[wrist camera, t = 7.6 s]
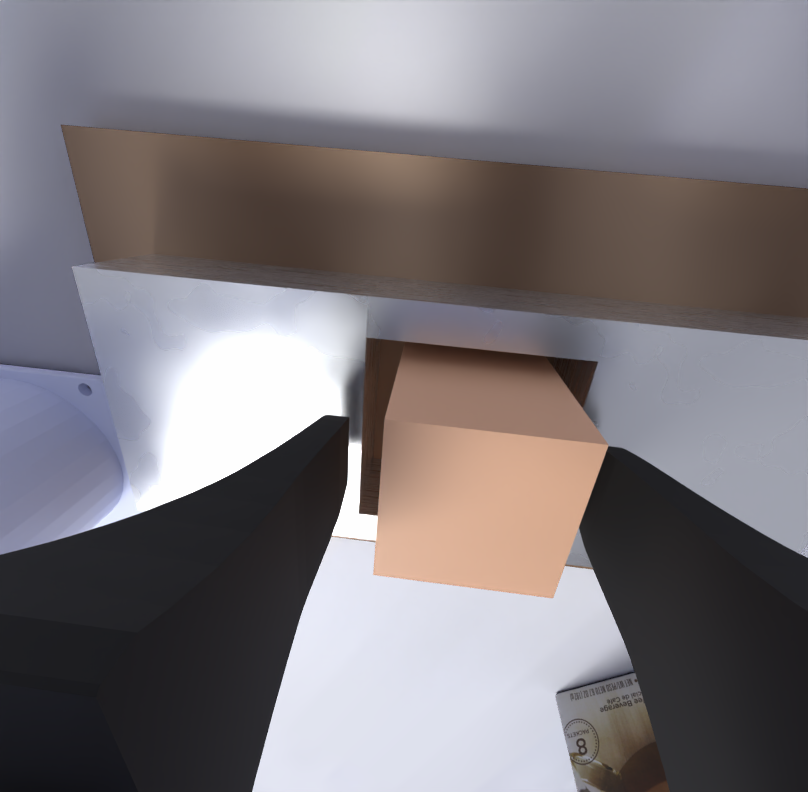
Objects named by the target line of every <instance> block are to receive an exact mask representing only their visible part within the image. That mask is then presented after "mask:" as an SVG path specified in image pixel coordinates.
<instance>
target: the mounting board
mask: <svg viewBox="0 0 808 792" xmlns="http://www.w3.org/2000/svg"><path fill="white" fill-rule="evenodd" d="M61 128H62V132H63V136H64V140H65V144H66V148H67V152H68V156H69V160H70V164H71V168H72V173H73V177H74V181H75V185H76V189H77V193H78V197H79V201H80V205H81V209H82V213H83V217H84V221H85V225H86V230H87V234H88V238H89V242H90V246H91V250H92V254H93V258H94V262H95V263H97V262H103V261H110V260H116V259H123V258H129V257H136V256H142V255H149V254H160V255H170V256H180V257H191V258H201V259H211V260H221V261H231V262H242V263H252V264H262V265H272V266H282V267H292V268H303V269H313V270H323V271H333V272H343V273H354V274H364V275H374V276H384V277H394V278H405V279H415V280H425V281H435V282H445V283H455V284H466V285H476V286H486V287H496V288H506V289H517V290H527V291H537V292H547V293H557V294H568V295H578V296H588V297H598V298H608V299H619V300H629V301H639V302H649V303H659V304H669V305H680V306H690V307H700V308H710V309H720V310H731V311H741V312H751V313H761V314H771V315H782V316H792V317H802V318H808V189H806V188H794V187H782V186H771V185H759V184H747V183H736V182H724V181H712V180H701V179H689V178H677V177H666V176H654V175H642V174H631V173H619V172H607V171H595V170H584V169H572V168H560V167H549V166H537V165H525V164H514V163H502V162H490V161H479V160H467V159H455V158H443V157H432V156H420V155H408V154H397V153H385V152H373V151H362V150H350V149H338V148H327V147H315V146H303V145H291V144H280V143H268V142H256V141H245V140H233V139H221V138H210V137H198V136H186V135H175V134H163V133H151V132H139V131H128V130H116V129H104V128H93V127H81V126H69V125H61ZM404 344H405V341H396V340H386V339H381V341H380V358H379V375H378V392H377V409H376V426H375V443H374V458H376V459H382V447H383V433H384V419H385V415H386V412H387V408H388V404H389V400H390V397H391V393H392V389H393V385H394V382H395V378H396V374H397V370H398V367H399V363H400V359H401V355H402V352H403V348H404ZM545 357H546V358H547V359H548V361H549V362H550V364H551V365H552V366H553V364H554V361H555V357H549V356H545ZM331 537H339V538H346V539H354V540H362V541H370V542H376V540H368V539H360V538H352V537H344V536H336V535H332V536H331ZM565 566H570V567H578V568H586V569H593V568H592V567H584V566H576V565H568V564H565Z"/></svg>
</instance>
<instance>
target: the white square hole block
mask: <svg viewBox="0 0 808 792" xmlns="http://www.w3.org/2000/svg"><path fill="white" fill-rule="evenodd" d="M72 270H73V274H74V278H75V281H76V285H77V289H78V292H79V296H80V300H81V303H82V307H83V311H84V314H85V318H86V322H87V326H88V329H89V333H90V337H91V340H92V344H93V348H94V351H95V355H96V359H97V362H98V366H99V370H100V374H101V377H102V381H103V385H104V388H105V392H106V396H107V399H108V403H109V407H110V410H111V414H112V418H113V422H114V425H115V429H116V433H117V436H118V440H119V444H120V447H121V451H122V455H123V458H124V462H125V466H126V470H127V473H128V477H129V481H130V484H131V488H132V492H133V495H134V499H135V503H136V506H137V510H138V511H147V510H149V509H152V508H154V507H157V506H159V505H162V504H164V503H167V502H169V501H172V500H174V499H177V498H179V497H182V496H185V495H187V494H189V493H192V492H194V491H196V490H198V489H201V488H203V487H205V486H207V485H209V484H211V483H213V482H215V481H217V480H220V479H222V478H224V477H226V476H227V475H229V474H231V473H233V472H235V471H237V470H239V469H241V468H242V467H244V466H246V465H248V464H249V463H251V462H253V461H254V460H256V459H258V458H259V457H261V456H263V455H264V454H266V453H268V452H270V451H271V450H273V449H275V448H276V447H278V446H279V445H281V444H282V443H284V442H285V441H287V440H288V439H290V438H291V437H293V436H294V435H296V434H297V433H299V432H300V431H302V430H303V429H305V428H306V427H307V426H309V425H310V424H312V423H313V422H315V421H316V420H318V419H319V418H321V417H322V416H324V415H326V414H328V415H337V416H346V417H350V418H349V458H348V484H347V488H346V492H345V496H344V500H343V504H342V508H341V511H340V515H339V518H338V521H337V523H336V526H335V528H334V531H333V534H332V535H336V536H344V537H352V538H360V539H368V540H376V531H377V517H378V503H379V489H380V475H381V461H382V459H376V458H374V443H375V426H376V409H377V392H378V375H379V358H380V341H381V339H386V340H396V341H405V342H415V343H424V344H434V345H444V346H453V347H463V348H472V349H482V350H491V351H501V352H510V353H520V354H530V355H539V356H549V357H555V361H554V364H553V368H554V369H555V371H556V372H557V373H558V375H559V376H560V378H561V379H562V380H563V382H564V383H565V385H566V386H567V387H568V389H569V390H570V392H571V393H572V394H573V396H574V397H575V399H576V400H577V401H578V403H579V404H580V406H581V407H582V408H583V410H584V411H585V412H586V414H587V415H588V417H589V418H590V419H591V421H592V422H593V424H594V425H595V426H596V428H597V429H598V431H599V432H600V433H601V435H602V436H603V438H604V439H605V440H606V442H607V443H608V445H609V446H611V447H620V448H624V449H626V450H628V451H630V452H632V453H633V454H635V455H637V456H639V457H640V458H642V459H644V460H645V461H647V462H649V463H650V464H652V465H653V466H655V467H656V468H658V469H660V470H661V471H663V472H664V473H666V474H667V475H669V476H670V477H672V478H674V479H675V480H677V481H678V482H680V483H681V484H683V485H684V486H686V487H687V488H689V489H691V490H692V491H694V492H695V493H697V494H698V495H700V496H701V497H703V498H705V499H706V500H708V501H709V502H711V503H713V504H714V505H716V506H717V507H719V508H721V509H722V510H724V511H725V512H727V513H729V514H730V515H732V516H734V517H735V518H737V519H739V520H740V521H742V522H744V523H746V524H747V525H749V526H751V527H752V528H754V529H756V530H757V531H759V532H761V533H762V534H764V535H766V536H768V537H769V538H771V539H773V540H775V541H777V542H778V543H780V544H782V545H784V546H786V547H787V548H789V549H791V550H793V551H795V552H797V553H799V554H801V553H802V551H803V550H804V549H805V547H806V546H807V544H808V318H802V317H792V316H782V315H771V314H761V313H751V312H741V311H731V310H720V309H710V308H700V307H690V306H680V305H669V304H659V303H649V302H639V301H629V300H619V299H608V298H598V297H588V296H578V295H568V294H557V293H547V292H537V291H527V290H517V289H506V288H496V287H486V286H476V285H466V284H455V283H445V282H435V281H425V280H415V279H405V278H394V277H384V276H374V275H364V274H354V273H343V272H333V271H323V270H313V269H303V268H292V267H282V266H272V265H262V264H252V263H242V262H231V261H221V260H211V259H201V258H191V257H180V256H170V255H160V254H149V255H142V256H136V257H129V258H123V259H116V260H110V261H103V262H97V263H90V264H84V265H77V266H72ZM566 564H568V565H576V566H584V567H592V565H591V562H590V560H589V558H588V555H587V553H586V550H585V548H584V544H583V541H582V537H581V534H580V530H579V528H578V531H577V534H576V536H575V539H574V542H573V545H572V547H571V550H570V553H569V556H568V558H567V561H566ZM592 568H593V567H592Z"/></svg>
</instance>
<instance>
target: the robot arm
mask: <svg viewBox="0 0 808 792" xmlns="http://www.w3.org/2000/svg"><path fill="white" fill-rule="evenodd" d="M87 385H88V386H89V387H90V388H91V390H90V389H89V388H88V386H87ZM349 418H350V417H346V416H337V415H328V414H326V415H324V416H322V417H321V418H319V419H318V420H316V421H315V422H313V423H312V424H310V425H309V426H307V427H306V428H305V429H303V430H302V431H300V432H299V433H297V434H296V435H294V436H293V437H291V438H290V439H288V440H287V441H285V442H284V443H282V444H281V445H279V446H278V447H276V448H275V449H273V450H271V451H270V452H268V453H266V454H264V455H263V456H261V457H259V458H258V459H256V460H254V461H253V462H251V463H249V464H248V465H246V466H244V467H242V468H241V469H239V470H237V471H235V472H233V473H231V474H229V475H227V476H226V477H224V478H222V479H220V480H217V481H215V482H213V483H211V484H209V485H207V486H205V487H203V488H201V489H198V490H196V491H194V492H192V493H189V494H187V495H185V496H182V497H179V498H177V499H174V500H172V501H169V502H167V503H164V504H162V505H159V506H157V507H154V508H152V509H149V510H147V511H138V510H137V506H136V503H135V499H134V495H133V492H132V488H131V484H130V481H129V477H128V473H127V470H126V466H125V462H124V458H123V455H122V451H121V447H120V444H119V440H118V436H117V433H116V429H115V425H114V422H113V418H112V414H111V410H110V407H109V403H108V399H107V396H106V392H105V388H104V385H103V381H102V377H101V375H92V374H83V373H74V372H65V371H56V370H47V369H38V368H29V367H20V366H11V365H2V364H0V792H252V789H253V785H254V781H255V778H256V774H257V770H258V766H259V763H260V759H261V755H262V751H263V748H264V744H265V740H266V736H267V733H268V729H269V725H270V721H271V717H272V714H273V710H274V707H275V703H276V699H277V696H278V692H279V689H280V685H281V682H282V678H283V674H284V671H285V667H286V664H287V660H288V657H289V653H290V650H291V647H292V643H293V640H294V636H295V633H296V629H297V626H298V623H299V619H300V616H301V613H302V610H303V607H304V605H305V602H306V599H307V596H308V594H309V591H310V589H311V586H312V584H313V581H314V579H315V576H316V574H317V571H318V569H319V566H320V564H321V561H322V559H323V556H324V554H325V551H326V549H327V546H328V544H329V541H330V539H331V536H332V534H333V531H334V528H335V526H336V523H337V521H338V518H339V515H340V511H341V508H342V504H343V500H344V496H345V492H346V488H347V484H348V458H349ZM579 530H580V534H581V537H582V541H583V544H584V548H585V550H586V553H587V555H588V558H589V560H590V562H591V565H592V567H593V570H594V572H595V574H596V577H597V579H598V582H599V584H600V586H601V589H602V591H603V593H604V596H605V598H606V600H607V603H608V605H609V607H610V610H611V612H612V614H613V617H614V619H615V621H616V624H617V626H618V628H619V631H620V633H621V636H622V638H623V640H624V643H625V646H626V648H627V651H628V654H629V656H630V659H631V662H632V665H633V668H634V671H635V674H636V677H637V681H638V684H639V687H640V690H641V693H642V696H643V700H644V703H645V706H646V709H647V712H648V716H649V719H650V723H651V726H652V730H653V733H654V737H655V740H656V744H657V747H658V750H659V754H660V757H661V761H662V764H663V768H664V771H665V775H666V779H667V783H668V787H669V791H670V792H808V558H807V557H805V556H803V555H801V554H799V553H797V552H795V551H793V550H791V549H789V548H787V547H786V546H784V545H782V544H780V543H778V542H777V541H775V540H773V539H771V538H769V537H768V536H766V535H764V534H762V533H761V532H759V531H757V530H756V529H754V528H752V527H751V526H749V525H747V524H746V523H744V522H742V521H740V520H739V519H737V518H735V517H734V516H732V515H730V514H729V513H727V512H725V511H724V510H722V509H721V508H719V507H717V506H716V505H714V504H713V503H711V502H709V501H708V500H706V499H705V498H703V497H701V496H700V495H698V494H697V493H695V492H694V491H692V490H691V489H689V488H687V487H686V486H684V485H683V484H681V483H680V482H678V481H677V480H675V479H674V478H672V477H670V476H669V475H667V474H666V473H664V472H663V471H661V470H660V469H658V468H656V467H655V466H653V465H652V464H650V463H649V462H647V461H645V460H644V459H642V458H640V457H639V456H637V455H635V454H633V453H632V452H630V451H628V450H626V449H624V448H620V447H611V446H608V448H607V451H606V454H605V457H604V459H603V462H602V465H601V468H600V470H599V473H598V476H597V479H596V481H595V484H594V487H593V490H592V492H591V495H590V498H589V501H588V503H587V506H586V509H585V512H584V514H583V517H582V520H581V523H580V525H579Z"/></svg>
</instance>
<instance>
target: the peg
mask: <svg viewBox="0 0 808 792" xmlns="http://www.w3.org/2000/svg"><path fill="white" fill-rule="evenodd" d="M608 446H609V445H608V443H607V442H606V440H605V439H604V438H603V436H602V435H601V433H600V432H599V431H598V429H597V428H596V426H595V425H594V424H593V422H592V421H591V419H590V418H589V417H588V415H587V414H586V412H585V411H584V410H583V408H582V407H581V406H580V404H579V403H578V401H577V400H576V399H575V397H574V396H573V394H572V393H571V392H570V390H569V389H568V387H567V386H566V385H565V383H564V382H563V380H562V379H561V378H560V376H559V375H558V373H557V372H556V371H555V369H554V368H553V366H552V365H551V364H550V362H549V361H548V359H547V358H546V357H545V356H539V355H530V354H520V353H510V352H501V351H491V350H482V349H472V348H463V347H453V346H444V345H434V344H424V343H415V342H405V344H404V348H403V352H402V355H401V359H400V363H399V367H398V370H397V374H396V378H395V382H394V385H393V389H392V393H391V397H390V400H389V404H388V408H387V412H386V415H385V419H384V433H383V447H382V461H381V475H380V489H379V503H378V517H377V531H376V545H375V559H374V573H373V575H378V576H386V577H394V578H401V579H409V580H417V581H424V582H432V583H440V584H447V585H455V586H463V587H470V588H478V589H486V590H493V591H501V592H509V593H516V594H524V595H532V596H539V597H547V598H553V597H554V594H555V591H556V589H557V586H558V583H559V580H560V578H561V575H562V572H563V569H564V567H565V564H566V561H567V558H568V556H569V553H570V550H571V547H572V545H573V542H574V539H575V536H576V534H577V531H578V528H579V525H580V523H581V520H582V517H583V514H584V512H585V509H586V506H587V503H588V501H589V498H590V495H591V492H592V490H593V487H594V484H595V481H596V479H597V476H598V473H599V470H600V468H601V465H602V462H603V459H604V457H605V454H606V451H607V448H608Z"/></svg>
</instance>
